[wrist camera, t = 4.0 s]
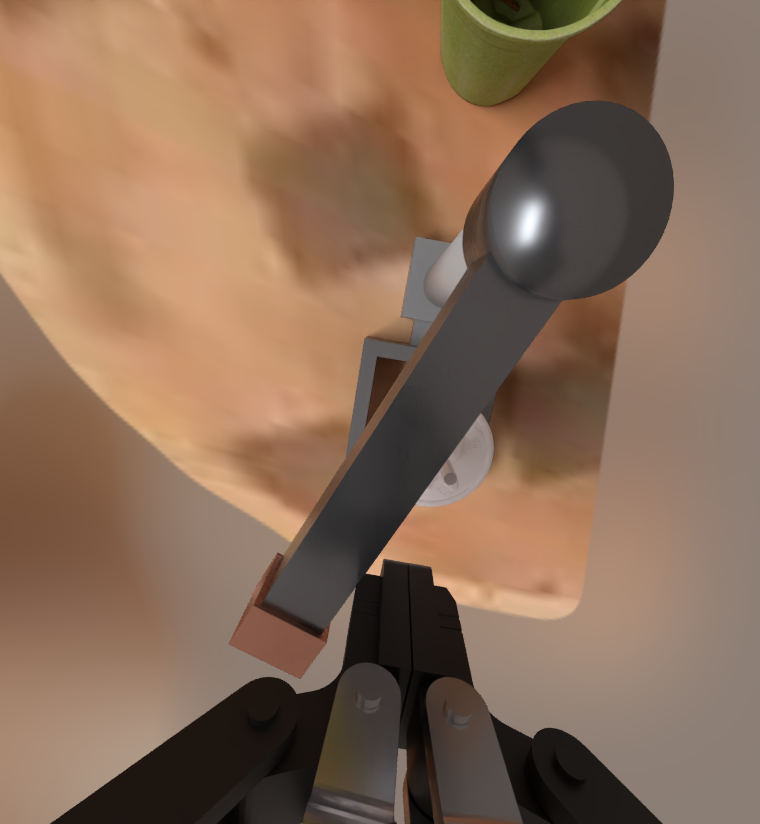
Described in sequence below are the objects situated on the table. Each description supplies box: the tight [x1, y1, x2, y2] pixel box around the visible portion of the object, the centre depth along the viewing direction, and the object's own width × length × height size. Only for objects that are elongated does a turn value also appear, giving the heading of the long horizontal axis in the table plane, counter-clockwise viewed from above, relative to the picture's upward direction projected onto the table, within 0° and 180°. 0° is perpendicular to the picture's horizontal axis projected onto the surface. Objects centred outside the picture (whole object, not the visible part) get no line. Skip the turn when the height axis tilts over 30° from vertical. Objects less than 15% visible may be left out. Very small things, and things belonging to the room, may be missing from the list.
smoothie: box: [415, 414, 494, 507], centre depth 21 cm, size 6×6×14 cm
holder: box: [346, 230, 497, 457], centre depth 19 cm, size 16×9×16 cm, turn 170°
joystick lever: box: [229, 101, 674, 679], centre depth 10 cm, size 16×4×3 cm, turn 148°
